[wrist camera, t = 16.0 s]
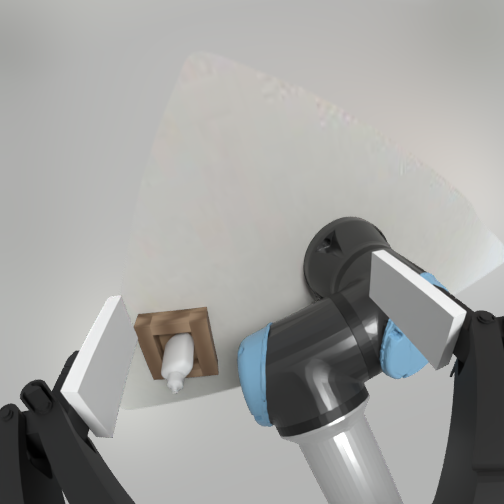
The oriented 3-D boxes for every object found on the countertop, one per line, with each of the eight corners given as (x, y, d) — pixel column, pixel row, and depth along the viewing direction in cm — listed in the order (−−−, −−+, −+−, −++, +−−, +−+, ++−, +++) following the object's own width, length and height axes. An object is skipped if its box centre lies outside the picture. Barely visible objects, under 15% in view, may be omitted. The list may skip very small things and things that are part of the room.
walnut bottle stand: (206, 306, 46) (206, 320, 43) (217, 359, 51) (218, 374, 47) (138, 314, 45) (133, 327, 41) (156, 365, 49) (153, 379, 46)
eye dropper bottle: (198, 349, 48) (197, 399, 37) (168, 353, 48) (161, 403, 36) (191, 330, 46) (189, 380, 35) (160, 334, 46) (151, 384, 35)
